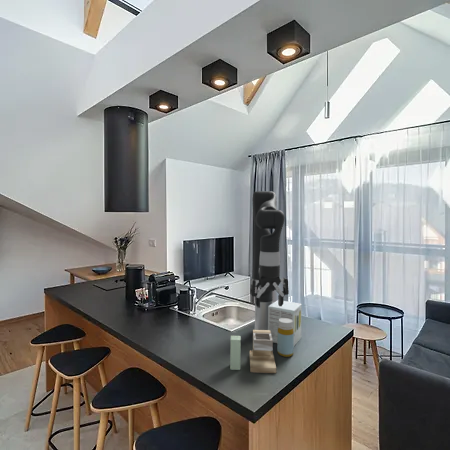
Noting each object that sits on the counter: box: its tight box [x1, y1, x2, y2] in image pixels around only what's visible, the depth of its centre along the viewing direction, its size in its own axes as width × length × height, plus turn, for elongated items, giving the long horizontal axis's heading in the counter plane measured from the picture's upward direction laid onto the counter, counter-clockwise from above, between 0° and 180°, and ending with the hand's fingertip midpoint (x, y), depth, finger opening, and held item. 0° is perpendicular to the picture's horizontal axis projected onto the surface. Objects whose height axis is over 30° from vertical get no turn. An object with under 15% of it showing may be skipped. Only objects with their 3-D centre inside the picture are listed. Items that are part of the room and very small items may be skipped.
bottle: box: [276, 318, 295, 358], centre depth 127 cm, size 7×7×15 cm
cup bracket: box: [249, 329, 277, 374], centre depth 119 cm, size 14×10×12 cm
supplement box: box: [268, 299, 303, 347], centre depth 142 cm, size 13×13×18 cm
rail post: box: [229, 335, 242, 371], centre depth 116 cm, size 4×4×12 cm
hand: (269, 306), depth 107 cm, fingers open, 8 cm apart
